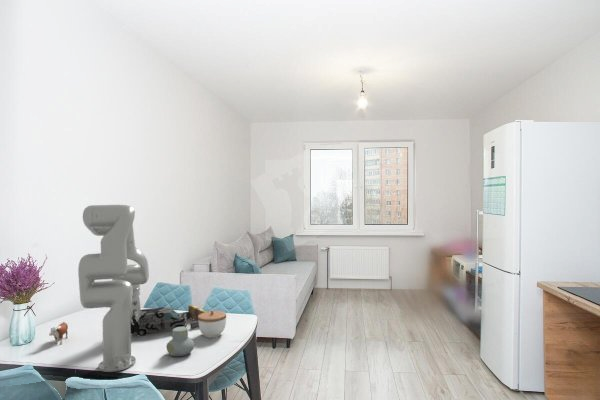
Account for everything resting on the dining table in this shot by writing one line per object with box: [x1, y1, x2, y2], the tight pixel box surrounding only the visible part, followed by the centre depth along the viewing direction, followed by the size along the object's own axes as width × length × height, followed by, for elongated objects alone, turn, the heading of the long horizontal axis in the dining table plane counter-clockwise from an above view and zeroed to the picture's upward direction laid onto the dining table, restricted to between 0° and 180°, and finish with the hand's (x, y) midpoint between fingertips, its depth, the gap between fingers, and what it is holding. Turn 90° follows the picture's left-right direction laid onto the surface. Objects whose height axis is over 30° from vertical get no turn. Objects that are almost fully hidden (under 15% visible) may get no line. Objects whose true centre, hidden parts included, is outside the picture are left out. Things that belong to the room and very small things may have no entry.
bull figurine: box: [48, 321, 69, 346], centre depth 167 cm, size 4×13×8 cm, turn 11°
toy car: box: [131, 306, 188, 337], centre depth 180 cm, size 11×25×10 cm, turn 107°
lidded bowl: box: [198, 309, 227, 339], centre depth 174 cm, size 13×13×11 cm
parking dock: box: [182, 304, 207, 330], centre depth 191 cm, size 19×9×6 cm, turn 41°
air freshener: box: [166, 326, 195, 357], centre depth 153 cm, size 11×8×10 cm
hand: (131, 330), depth 172 cm, fingers open, 9 cm apart
